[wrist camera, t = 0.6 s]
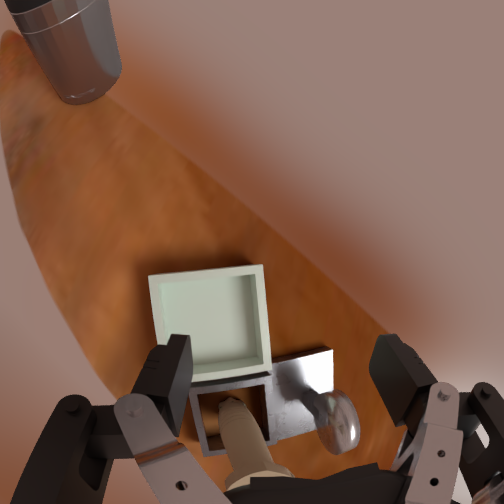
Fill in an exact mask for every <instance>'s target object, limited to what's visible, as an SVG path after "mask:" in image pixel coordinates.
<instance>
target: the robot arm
mask: <svg viewBox="0 0 504 504" xmlns="http://www.w3.org/2000/svg"><path fill="white" fill-rule="evenodd" d="M4 1H5V3H6V5H7V7H8V9H9V11H10V13H11V15H12V17H13V19H14V21H15V23H16V25H17V26H18V29H19V30H20V32H21V34H22V36H23V37H24V39H25V41H26V43H27V44H28V46H29V48H30V50H31V51H32V53H33V55H34V56H35V58H36V60H37V61H38V63H39V65H40V66H41V68H42V70H43V71H44V73H45V74H46V76H47V78H48V79H49V81H50V83H51V84H52V86H53V87H54V89H55V90H56V92H57V93H58V95H59V96H60V98H61V99H62V100H63V101H64V102H66V103H69V104H75V105H77V104H84V103H87V102H90V101H92V100H95V99H97V98H98V97H100V96H102V95H103V94H105V93H106V92H107V91H108V90H109V89H110V88H111V87H112V86H113V85H114V84H115V83H116V81H117V79H118V78H119V76H120V74H121V70H122V65H121V59H120V55H119V51H118V46H117V42H116V37H115V32H114V28H113V23H112V18H111V13H110V8H109V2H108V0H4ZM369 373H370V376H371V378H372V380H373V382H374V384H375V386H376V388H377V390H378V392H379V394H380V396H381V398H382V400H383V402H384V404H385V406H386V408H387V410H388V412H389V414H390V416H391V418H392V420H393V422H394V424H395V427H398V426H402V425H405V424H406V426H407V429H406V430H405V432H404V435H403V438H402V441H401V444H400V446H399V449H398V452H397V455H396V457H395V460H394V462H393V464H392V466H391V468H390V470H379V467H378V464H377V462H376V463H372V464H368V465H363V466H358V467H353V468H349V469H346V470H344V471H341V472H339V473H336V474H334V475H331V476H328V477H326V478H323V479H320V480H312V479H302V478H294V477H287V476H275V477H250V484H248V485H243V486H239V487H236V488H233V489H231V490H228V491H226V492H224V493H222V492H221V491H220V489H219V488H218V487H217V486H216V485H215V484H214V482H213V481H212V480H211V479H210V478H209V476H208V475H207V474H206V473H205V471H204V470H203V469H202V468H201V466H200V465H199V464H198V462H197V461H196V460H195V459H194V457H193V456H192V455H191V453H190V452H189V450H188V449H187V448H186V447H185V445H184V444H183V443H179V442H178V441H177V439H176V438H175V437H179V433H180V428H181V424H182V419H183V415H184V411H185V406H186V402H187V398H188V394H189V390H190V385H191V381H192V377H193V357H192V348H191V338H190V335H183V334H171V335H170V338H169V340H168V342H167V345H162V344H158V345H157V346H156V347H155V348H153V349H152V350H151V351H150V353H149V355H148V357H147V359H146V361H145V363H144V365H143V368H142V370H141V372H140V374H139V376H138V378H137V380H136V383H135V385H134V387H133V389H132V391H131V393H130V394H127V395H125V396H123V397H121V398H119V399H118V400H117V402H116V403H115V405H105V406H104V405H103V406H92V405H91V403H90V401H89V400H88V399H87V398H86V397H84V396H81V395H69V396H66V397H64V398H63V399H61V400H60V401H59V402H58V404H57V405H56V407H55V409H54V411H53V413H52V415H51V416H50V418H49V420H48V422H47V424H46V425H45V427H44V429H43V431H42V433H41V435H40V438H39V439H38V441H37V443H36V445H35V447H34V449H33V451H32V453H31V455H30V457H29V460H28V462H27V464H26V466H25V468H24V471H23V473H22V475H21V477H20V480H19V482H18V485H17V487H16V489H15V492H14V495H13V497H12V500H11V502H10V504H102V501H103V498H104V493H105V490H106V486H107V482H108V478H109V475H110V471H111V468H112V464H113V461H114V459H127V458H135V460H136V462H137V464H138V466H139V468H140V470H141V472H142V474H143V475H144V477H145V479H146V481H147V482H148V484H149V486H150V487H151V489H152V491H153V492H154V494H155V496H156V497H157V499H158V500H159V502H160V504H460V503H458V502H456V501H454V500H452V499H451V498H452V495H453V491H454V486H455V482H456V477H457V472H458V467H459V468H460V470H461V473H462V474H463V477H464V480H465V482H466V484H467V487H468V489H469V492H470V494H471V497H472V504H504V399H503V398H502V397H501V395H500V394H499V393H498V391H497V390H496V389H495V388H494V387H493V386H492V385H490V384H488V383H485V382H480V383H477V384H476V385H475V386H474V388H473V389H472V391H471V392H467V393H466V392H463V393H462V392H460V393H459V392H458V390H457V389H456V388H455V387H454V386H452V385H451V384H449V383H445V382H438V381H437V380H436V378H435V377H434V376H433V374H432V373H431V371H430V370H429V369H428V367H427V366H426V365H425V364H423V361H422V360H421V358H419V356H418V354H417V353H416V352H415V351H414V349H413V348H411V347H410V346H408V345H407V344H405V343H403V342H402V341H401V340H400V338H399V337H398V336H397V334H385V335H379V336H378V338H377V341H376V344H375V347H374V350H373V353H372V356H371V359H370V363H369ZM480 424H482V426H483V427H484V429H485V430H486V432H487V434H488V436H489V445H488V447H487V448H486V449H485V447H484V445H483V444H482V442H481V440H480V438H479V436H478V435H477V433H476V431H475V430H476V429H477V428H478V426H479V425H480Z"/></svg>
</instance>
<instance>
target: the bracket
mask: <svg viewBox="0 0 504 504" xmlns="http://www.w3.org/2000/svg"><path fill="white" fill-rule="evenodd" d="M271 362H272V370H268V371H263V372H258V373H252V374H246V375H240V376H234V377H228V378H221V379H214V380H206V381H197V382H191V385H190V390H189V399H190V403H191V408H192V412H193V417H194V421H195V425H196V429H197V433H198V437H199V441H200V445H201V449H202V453H203V456H204V457H207V456H215V455H222V454H227V452H226V449H225V447H224V444H223V441H222V438H221V435H220V436H213V437H207V436H206V432H205V427H204V423H203V418H202V414H201V409H200V404H199V399H198V394H204V393H212V392H219V391H226V390H233V389H239V388H245V387H250V386H256V385H259V394H260V404H261V413H262V422H263V428H260V430H261V433H262V435H263V438H264V440H265V443H266V445H267V446H269V445H274V444H277V440H280V439H284V438H288V437H292V436H295V435H299V434H302V433H306V432H309V431H312V430H315V429H316V430H317V433H318V435H319V438H320V440H321V442H322V443H323V445H324V446H325V448H326V449H327V450H328V451H329V452H330V453H332V454H334V455H339V454H341V453H344V452H346V451H349V450H351V449H353V448H355V447H356V446H357V444H358V442H359V439H360V424H359V419H358V416H357V413H356V410H355V408H354V406H353V404H352V402H351V401H350V399H349V398H348V397H347V396H346V394H344V393H343V392H342V391H340V390H338V389H334V390H333V350H332V349H331V348H329V347H327V346H326V347H322V348H318V349H314V350H310V351H305V352H301V353H296V354H292V355H287V356H282V357H277V358H272V359H271Z"/></svg>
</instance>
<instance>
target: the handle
mask: <svg viewBox="0 0 504 504" xmlns="http://www.w3.org/2000/svg"><path fill="white" fill-rule="evenodd" d="M218 408H219V415H218V423H219V430H220V435H221V438H222V441H223V444H224V447H225V449H226V452H227V454H228V457H229V459H230V462H231V464H232V467H233V469H234V471H233V472H232V473H231V474H230V475H229V476H228V477H227V478H226V480H225V486H226V490H227V491H228V490H231V489H233V488H236V487H239V486H243V485H248V484H250V477H275V476H287V477H294V475H293V474H292V473H291V472H290V471H289V470H288V469H287V468H285V467H284V466H281V465H278V464H275V463H274V462H273V460H272V457H271V455H270V453H269V450H268V448H267V445H266V443H265V440H264V438H263V435H262V433H261V430H260V428H259V426H258V424H257V422H256V420H255V419H254V417H253V415H252V414H251V413H250V411H249V410H248V409H247V407H246V405H245V403H244V402H243V401H241V400H235V399H233V398H232V397H229V398H227V400H225V401H224V402H220V403H219V405H218ZM294 478H295V477H294Z"/></svg>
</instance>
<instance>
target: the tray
mask: <svg viewBox="0 0 504 504" xmlns="http://www.w3.org/2000/svg"><path fill="white" fill-rule="evenodd" d="M148 280H149V289H150V297H151V304H152V312H153V318H154V325H155V331H156V337H157V343H158V344H162V345H167V342H168V340H169V338H170V335H171V334H183V335H190V338H191V348H192V357H193V377H192V381H191V382H197V381H206V380H214V379H221V378H228V377H234V376H240V375H246V374H252V373H258V372H263V371H268V370H272V362H271V350H270V339H269V328H268V316H267V306H266V295H265V284H264V273H263V264H251V265H242V266H232V267H222V268H212V269H202V270H191V271H181V272H170V273H160V274H152V275H149V276H148Z"/></svg>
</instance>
